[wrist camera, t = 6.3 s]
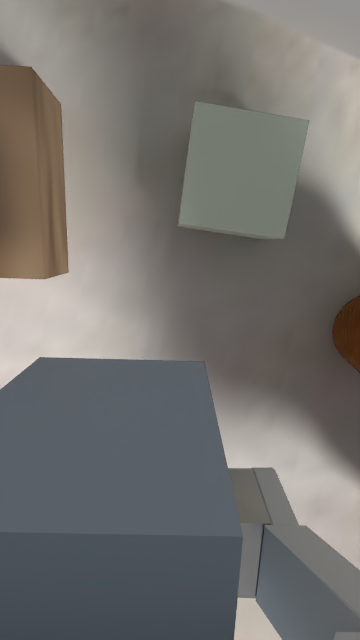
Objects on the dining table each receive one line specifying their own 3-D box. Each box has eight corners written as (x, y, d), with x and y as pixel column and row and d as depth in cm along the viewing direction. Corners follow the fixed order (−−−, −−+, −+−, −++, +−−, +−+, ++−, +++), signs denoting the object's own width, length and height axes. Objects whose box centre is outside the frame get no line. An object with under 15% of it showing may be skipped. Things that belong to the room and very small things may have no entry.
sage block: (281, 145, 24) (309, 120, 19) (263, 239, 26) (284, 238, 21) (190, 129, 24) (195, 100, 19) (177, 226, 25) (178, 223, 20)
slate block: (203, 361, 10) (242, 537, 4) (197, 499, 11) (219, 793, 5) (39, 357, 10) (-171, 528, 4) (50, 496, 11) (-99, 790, 5)
